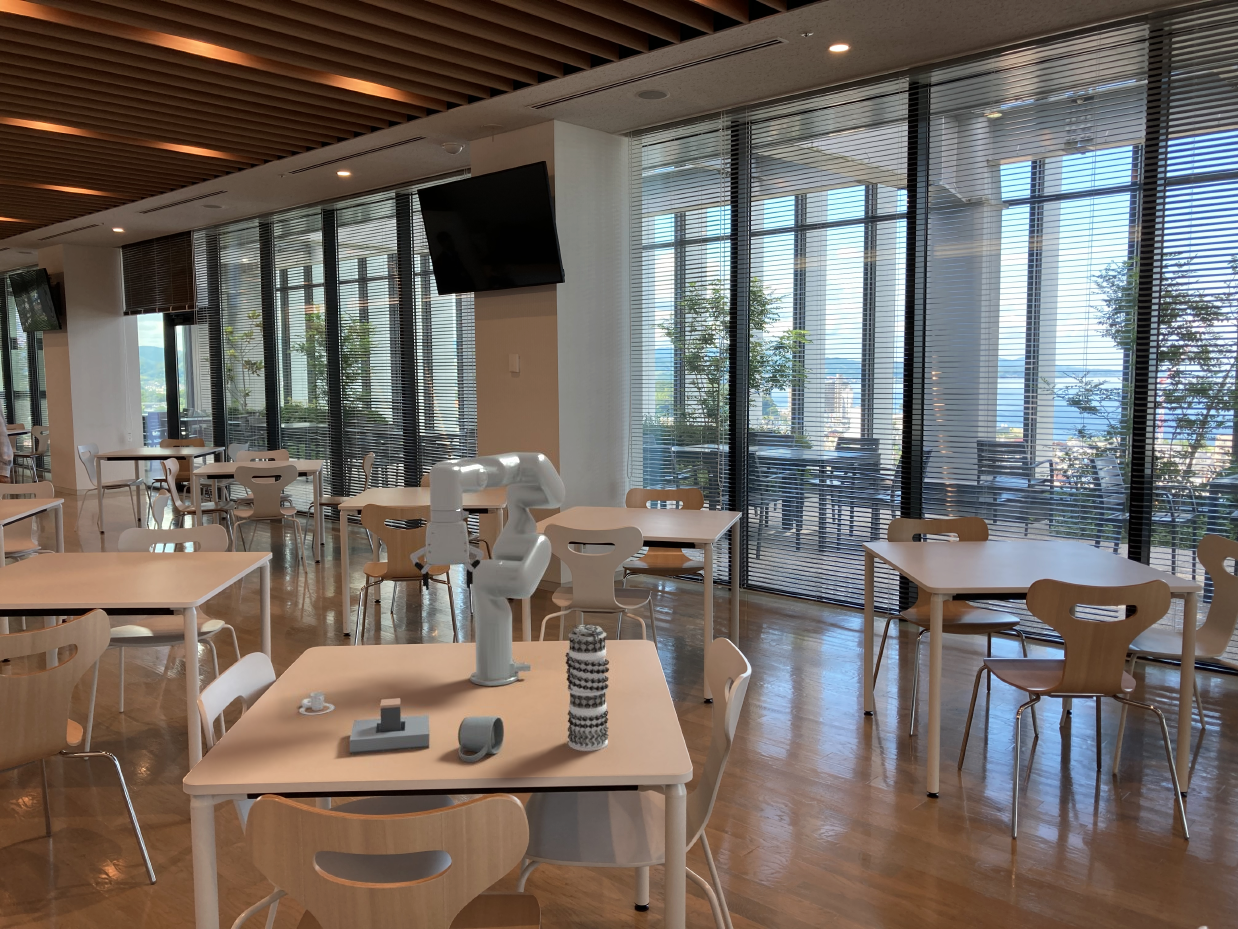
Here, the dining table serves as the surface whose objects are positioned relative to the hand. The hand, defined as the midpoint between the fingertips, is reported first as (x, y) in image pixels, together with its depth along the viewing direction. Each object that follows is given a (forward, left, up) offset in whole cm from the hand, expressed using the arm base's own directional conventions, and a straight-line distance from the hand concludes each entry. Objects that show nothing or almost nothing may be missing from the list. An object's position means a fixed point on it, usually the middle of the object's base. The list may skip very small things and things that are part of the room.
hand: (447, 588), depth 214 cm
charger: (+13, +21, -28) cm, 37 cm away
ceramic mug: (-5, +32, -29) cm, 43 cm away
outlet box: (+13, +21, -28) cm, 38 cm away
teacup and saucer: (+30, -7, -29) cm, 42 cm away
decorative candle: (-28, +32, -28) cm, 51 cm away
